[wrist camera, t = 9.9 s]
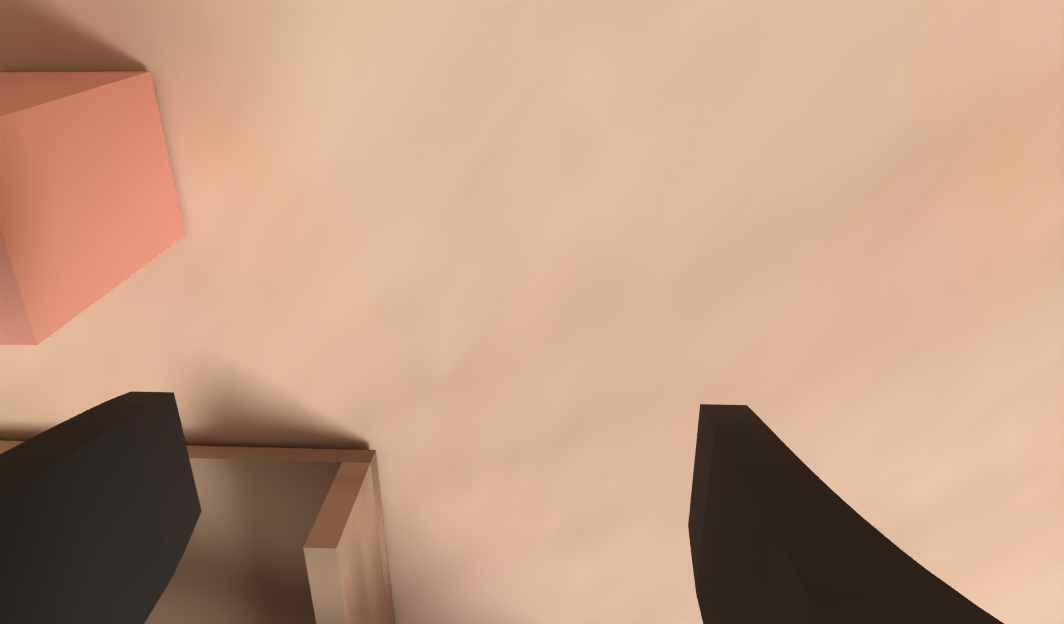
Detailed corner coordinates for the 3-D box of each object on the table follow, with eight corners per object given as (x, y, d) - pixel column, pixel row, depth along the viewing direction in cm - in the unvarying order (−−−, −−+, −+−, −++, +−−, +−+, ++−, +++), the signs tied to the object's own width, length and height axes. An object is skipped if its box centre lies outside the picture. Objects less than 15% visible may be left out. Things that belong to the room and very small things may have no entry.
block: (184, 234, 20) (37, 344, 14) (33, 233, 20) (-170, 342, 15) (150, 71, 18) (-32, 126, 13) (-16, 71, 18) (-265, 126, 13)
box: (399, 669, 26) (371, 786, 22) (34, 654, 27) (-52, 766, 23) (375, 450, 22) (336, 548, 19) (-51, 439, 23) (-168, 532, 19)
